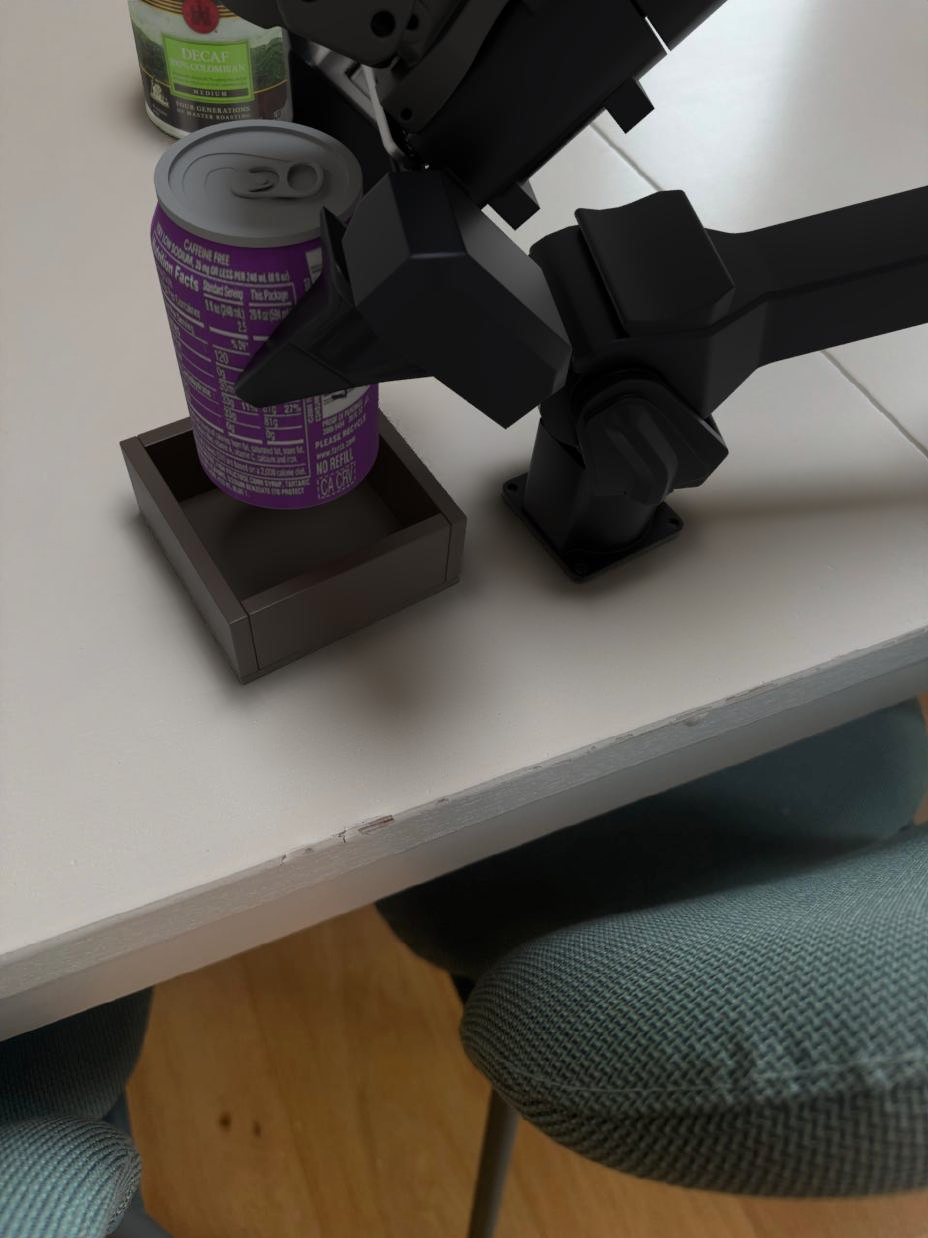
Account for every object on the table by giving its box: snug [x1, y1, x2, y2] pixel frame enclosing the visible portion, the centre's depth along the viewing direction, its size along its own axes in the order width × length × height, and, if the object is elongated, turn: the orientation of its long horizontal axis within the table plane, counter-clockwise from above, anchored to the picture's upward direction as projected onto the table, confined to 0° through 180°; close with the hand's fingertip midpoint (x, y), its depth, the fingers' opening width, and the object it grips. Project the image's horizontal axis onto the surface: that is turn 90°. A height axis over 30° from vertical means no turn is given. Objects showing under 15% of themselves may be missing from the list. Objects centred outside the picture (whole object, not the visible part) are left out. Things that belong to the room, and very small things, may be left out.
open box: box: [118, 407, 469, 685], centre depth 41 cm, size 11×11×4 cm
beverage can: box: [149, 120, 380, 509], centre depth 33 cm, size 7×7×12 cm
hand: (236, 325), depth 33 cm, fingers closed on beverage can, 7 cm apart
